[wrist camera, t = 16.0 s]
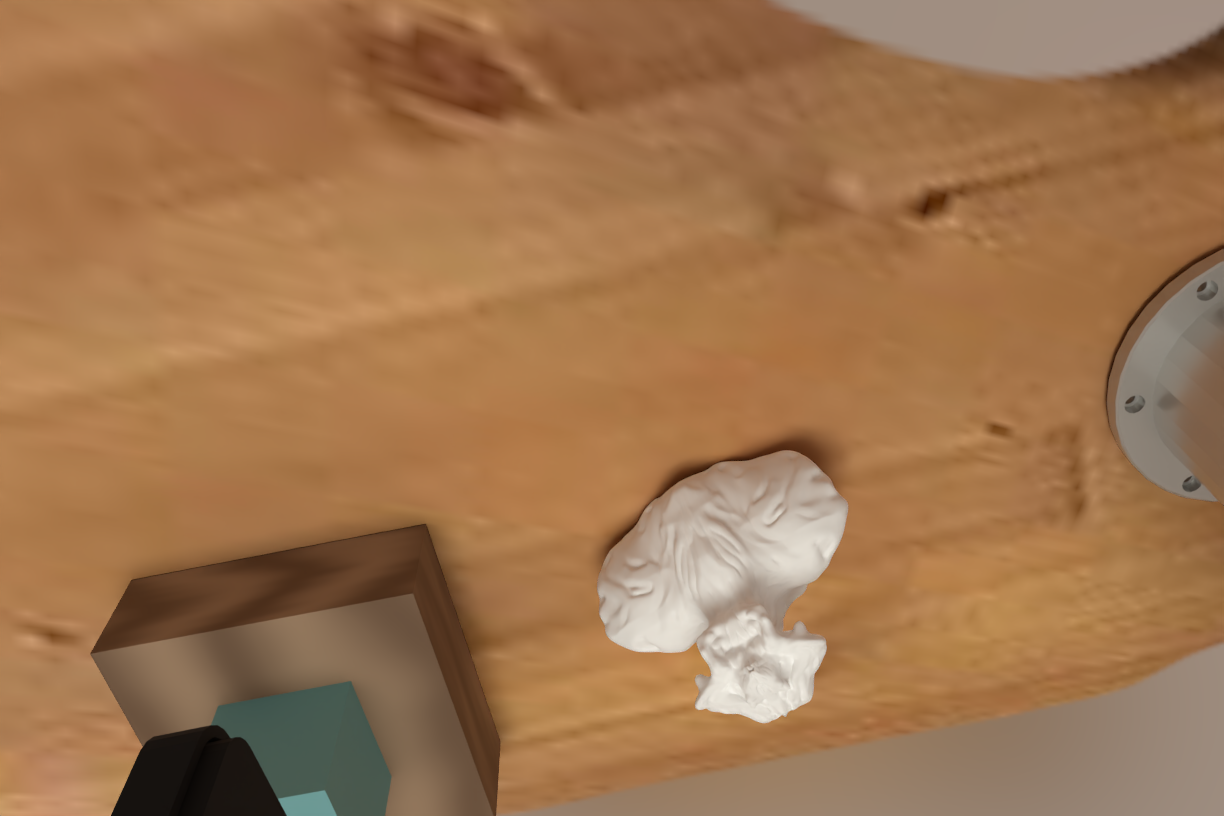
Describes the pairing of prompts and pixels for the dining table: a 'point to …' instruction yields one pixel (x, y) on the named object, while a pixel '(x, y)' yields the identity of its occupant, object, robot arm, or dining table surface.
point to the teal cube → (314, 750)
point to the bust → (729, 579)
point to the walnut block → (317, 656)
